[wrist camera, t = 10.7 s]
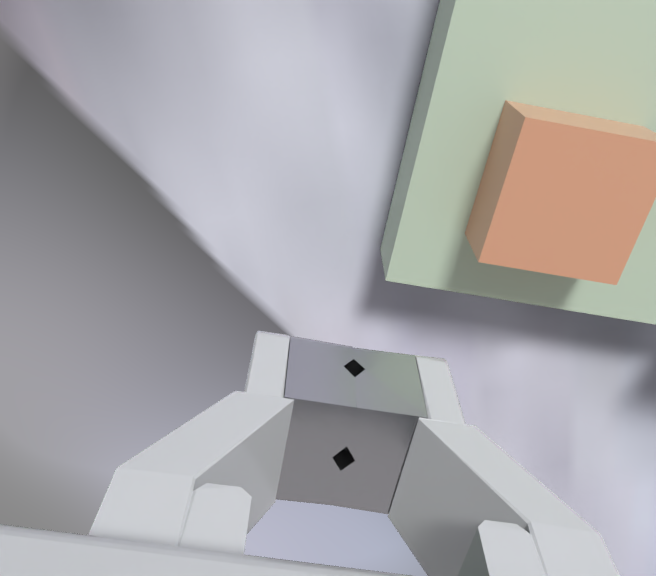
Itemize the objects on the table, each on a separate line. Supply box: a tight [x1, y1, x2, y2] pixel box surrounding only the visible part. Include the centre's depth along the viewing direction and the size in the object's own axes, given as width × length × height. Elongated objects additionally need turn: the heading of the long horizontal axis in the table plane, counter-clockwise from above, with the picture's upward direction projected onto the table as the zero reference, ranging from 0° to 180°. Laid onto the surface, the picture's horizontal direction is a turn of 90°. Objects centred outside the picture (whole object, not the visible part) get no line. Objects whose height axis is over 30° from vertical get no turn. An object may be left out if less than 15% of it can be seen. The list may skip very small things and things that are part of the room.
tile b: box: [465, 100, 656, 285], centre depth 22 cm, size 5×5×2 cm
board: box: [380, 0, 656, 325], centre depth 22 cm, size 18×14×3 cm
